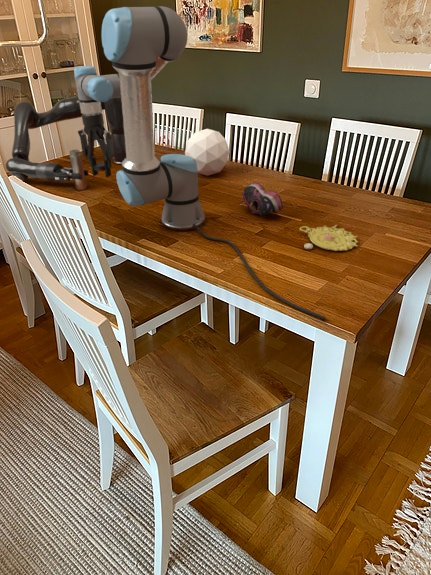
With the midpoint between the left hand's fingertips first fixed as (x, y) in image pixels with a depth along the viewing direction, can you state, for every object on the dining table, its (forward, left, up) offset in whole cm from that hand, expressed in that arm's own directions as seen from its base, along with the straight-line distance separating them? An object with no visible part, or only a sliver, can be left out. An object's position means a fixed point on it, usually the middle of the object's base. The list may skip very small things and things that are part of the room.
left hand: (84, 175), depth 185 cm
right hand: (+7, +13, +3) cm, 15 cm away
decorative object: (+23, +103, -6) cm, 105 cm away
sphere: (-31, +44, -6) cm, 54 cm away
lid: (+7, +13, +7) cm, 16 cm away
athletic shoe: (+6, +75, -6) cm, 76 cm away
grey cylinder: (0, -3, -6) cm, 7 cm away
